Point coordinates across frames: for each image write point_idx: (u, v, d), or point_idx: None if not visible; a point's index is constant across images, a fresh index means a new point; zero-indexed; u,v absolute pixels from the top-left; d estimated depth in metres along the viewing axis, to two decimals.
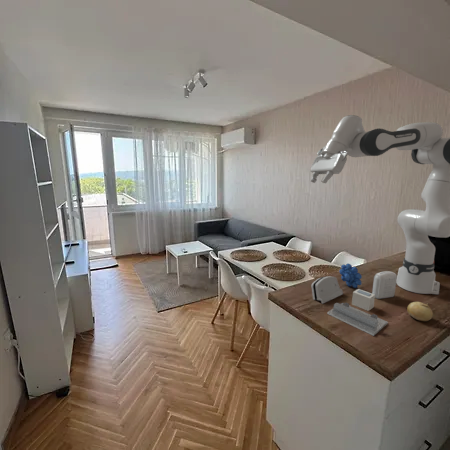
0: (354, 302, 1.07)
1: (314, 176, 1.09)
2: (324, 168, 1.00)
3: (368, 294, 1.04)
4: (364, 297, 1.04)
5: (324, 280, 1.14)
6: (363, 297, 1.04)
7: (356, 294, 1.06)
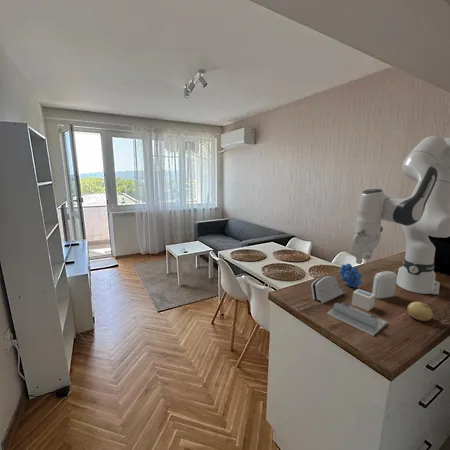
0: (354, 302, 1.07)
1: (368, 252, 1.06)
2: None
3: (368, 294, 1.04)
4: (364, 297, 1.04)
5: (324, 280, 1.15)
6: (363, 297, 1.04)
7: (356, 294, 1.06)
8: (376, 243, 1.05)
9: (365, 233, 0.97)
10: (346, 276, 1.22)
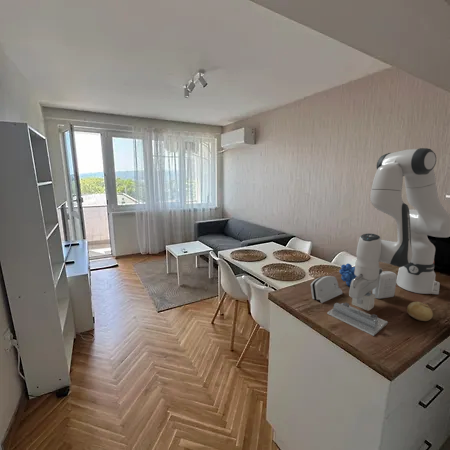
0: (354, 301, 1.07)
1: None
2: None
3: (368, 294, 1.04)
4: (364, 297, 1.04)
5: (323, 280, 1.15)
6: (363, 297, 1.04)
7: None
8: (376, 283, 1.08)
9: (363, 277, 1.01)
10: (346, 276, 1.22)
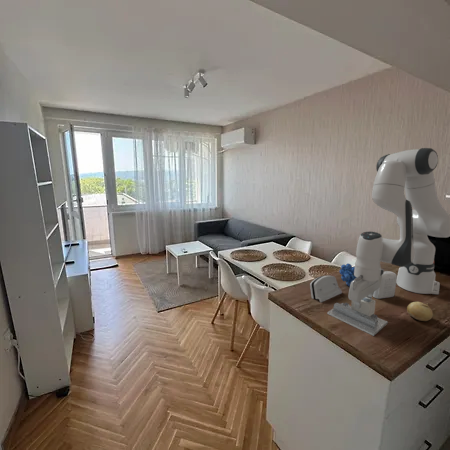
0: (353, 308, 1.01)
1: (369, 294, 1.03)
2: None
3: (368, 300, 0.98)
4: (364, 303, 0.97)
5: (323, 279, 1.15)
6: (363, 303, 0.97)
7: None
8: (377, 285, 1.01)
9: (363, 278, 0.94)
10: (346, 276, 1.22)
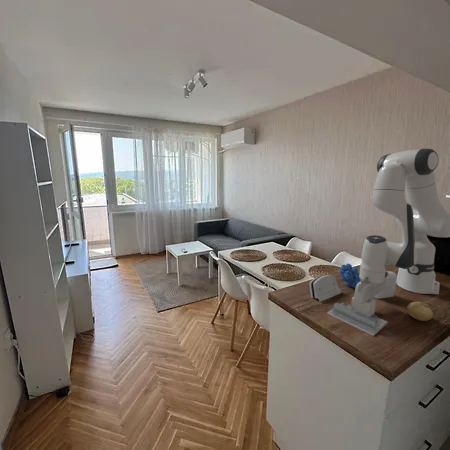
0: (353, 308, 1.01)
1: None
2: None
3: (368, 300, 0.98)
4: (364, 303, 0.97)
5: (322, 279, 1.16)
6: (363, 303, 0.97)
7: None
8: (381, 287, 1.05)
9: (368, 280, 0.97)
10: (346, 276, 1.22)
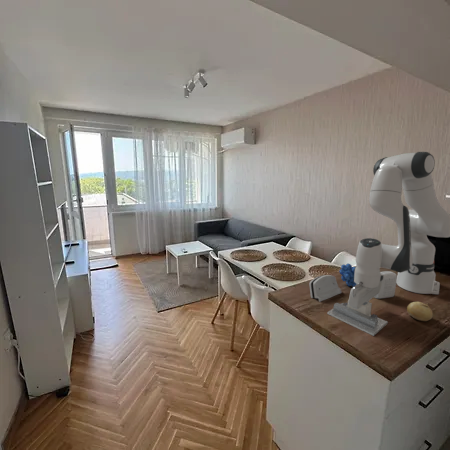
0: None
1: None
2: None
3: (364, 303, 0.96)
4: None
5: (322, 279, 1.16)
6: None
7: None
8: (377, 290, 1.02)
9: (363, 285, 0.95)
10: (346, 276, 1.22)
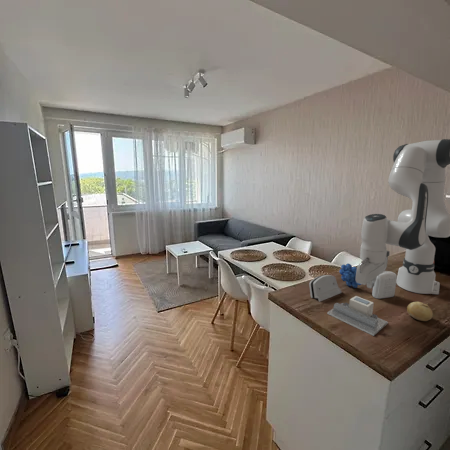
0: None
1: None
2: None
3: (366, 302, 0.96)
4: (361, 305, 0.96)
5: (322, 279, 1.16)
6: (360, 305, 0.96)
7: (353, 302, 0.98)
8: (383, 267, 1.01)
9: (370, 261, 0.94)
10: (346, 276, 1.22)
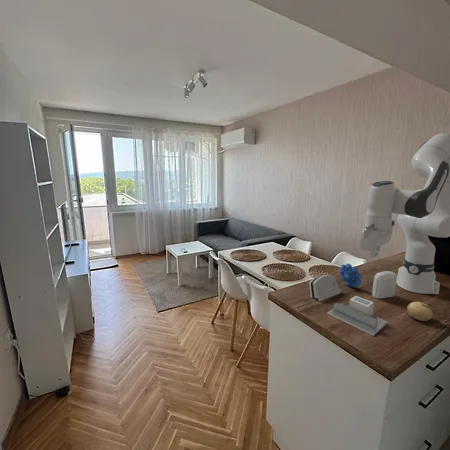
0: None
1: None
2: None
3: (366, 302, 0.96)
4: (361, 305, 0.96)
5: (322, 278, 1.16)
6: (360, 305, 0.96)
7: (353, 302, 0.98)
8: (388, 238, 1.00)
9: (375, 227, 0.93)
10: (346, 276, 1.22)
